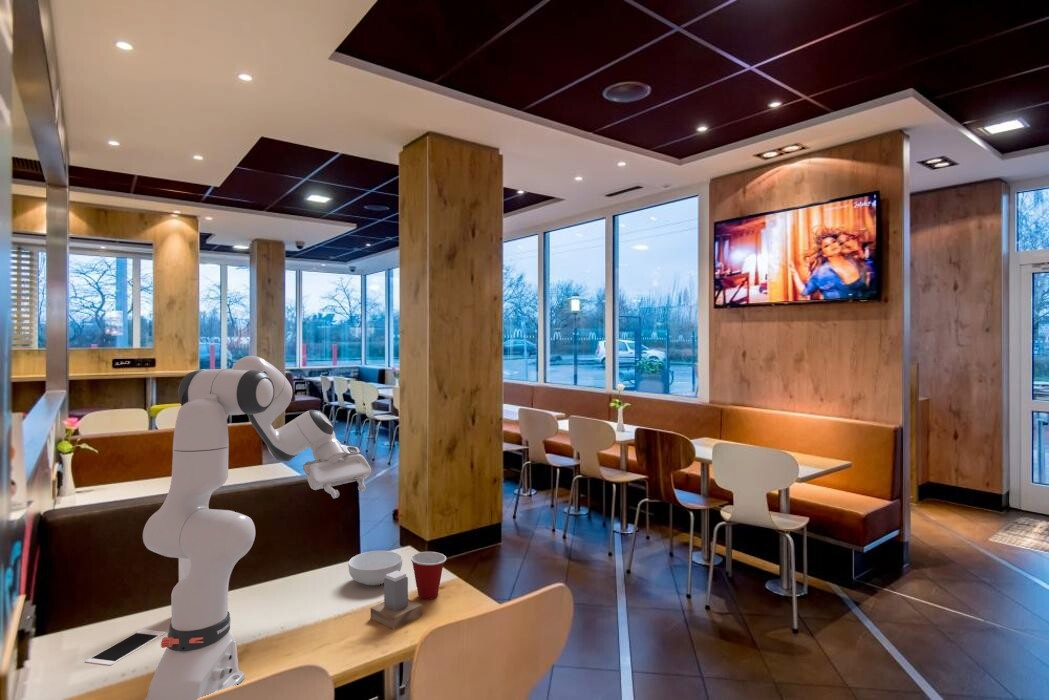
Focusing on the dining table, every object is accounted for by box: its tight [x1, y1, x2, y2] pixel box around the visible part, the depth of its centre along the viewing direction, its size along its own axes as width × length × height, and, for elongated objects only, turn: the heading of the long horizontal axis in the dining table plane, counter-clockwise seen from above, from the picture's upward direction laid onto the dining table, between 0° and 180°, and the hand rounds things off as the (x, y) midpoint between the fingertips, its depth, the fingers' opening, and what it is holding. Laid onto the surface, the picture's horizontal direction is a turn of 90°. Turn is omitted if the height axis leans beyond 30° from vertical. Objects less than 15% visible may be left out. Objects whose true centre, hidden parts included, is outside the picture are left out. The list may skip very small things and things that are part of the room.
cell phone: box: [84, 628, 166, 666], centre depth 143 cm, size 8×16×1 cm, turn 168°
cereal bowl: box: [348, 550, 403, 587], centre depth 183 cm, size 17×17×7 cm
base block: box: [369, 598, 423, 630], centre depth 158 cm, size 10×10×3 cm
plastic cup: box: [410, 551, 447, 601], centre depth 172 cm, size 11×11×12 cm
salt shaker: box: [383, 570, 409, 611], centre depth 158 cm, size 5×5×9 cm
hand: (350, 493), depth 172 cm, fingers open, 8 cm apart
